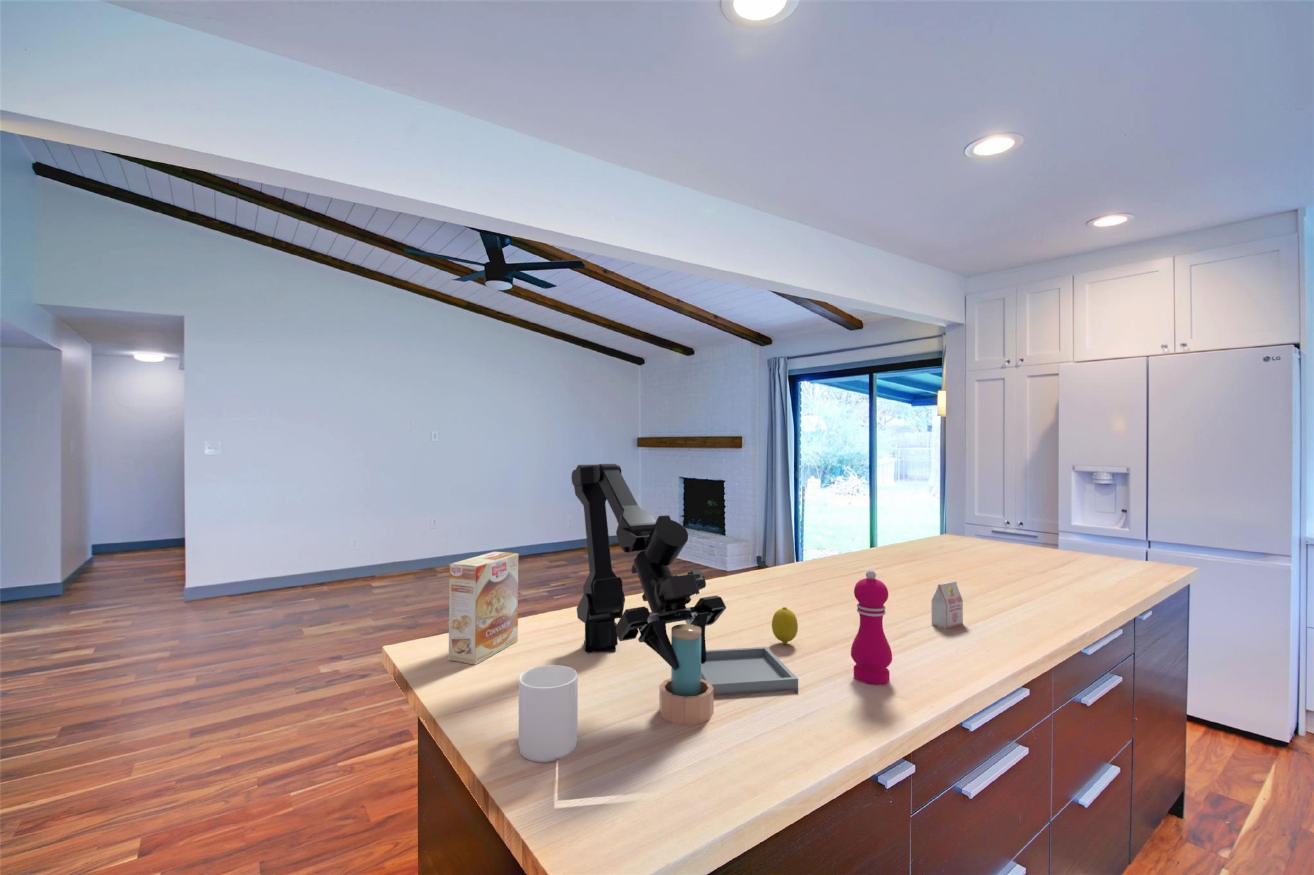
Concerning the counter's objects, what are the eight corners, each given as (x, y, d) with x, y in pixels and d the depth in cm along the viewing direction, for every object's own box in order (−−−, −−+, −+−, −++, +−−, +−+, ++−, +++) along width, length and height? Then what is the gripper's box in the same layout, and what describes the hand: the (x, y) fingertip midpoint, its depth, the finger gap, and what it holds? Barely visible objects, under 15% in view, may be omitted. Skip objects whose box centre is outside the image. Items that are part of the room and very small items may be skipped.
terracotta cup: (664, 730, 87) (664, 700, 87) (656, 705, 95) (656, 678, 95) (718, 725, 88) (718, 696, 88) (705, 701, 97) (705, 674, 97)
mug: (498, 735, 85) (499, 665, 86) (549, 719, 90) (549, 653, 91) (534, 771, 76) (534, 693, 76) (588, 751, 81) (588, 677, 81)
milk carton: (931, 624, 138) (931, 583, 138) (948, 620, 142) (948, 579, 142) (946, 628, 135) (945, 586, 135) (962, 624, 139) (962, 582, 139)
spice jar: (674, 711, 89) (674, 634, 89) (668, 698, 94) (669, 624, 94) (704, 709, 90) (704, 633, 90) (697, 696, 95) (697, 623, 95)
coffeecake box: (476, 665, 112) (476, 566, 113) (446, 660, 115) (447, 563, 115) (519, 641, 126) (519, 552, 127) (492, 637, 129) (493, 550, 129)
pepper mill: (891, 673, 109) (890, 567, 109) (893, 688, 102) (893, 575, 102) (851, 668, 111) (850, 565, 111) (850, 683, 104) (850, 572, 104)
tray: (709, 699, 97) (709, 684, 97) (689, 663, 113) (689, 651, 113) (798, 693, 100) (798, 678, 100) (766, 659, 116) (766, 646, 116)
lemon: (798, 649, 121) (798, 611, 122) (771, 647, 123) (771, 609, 123) (797, 640, 127) (797, 604, 127) (771, 638, 128) (771, 602, 128)
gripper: (623, 559, 91) (656, 651, 81) (720, 549, 100) (760, 630, 90) (603, 597, 98) (631, 686, 88) (695, 584, 107) (730, 663, 97)
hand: (690, 665), depth 91 cm, fingers closed on spice jar, 5 cm apart
